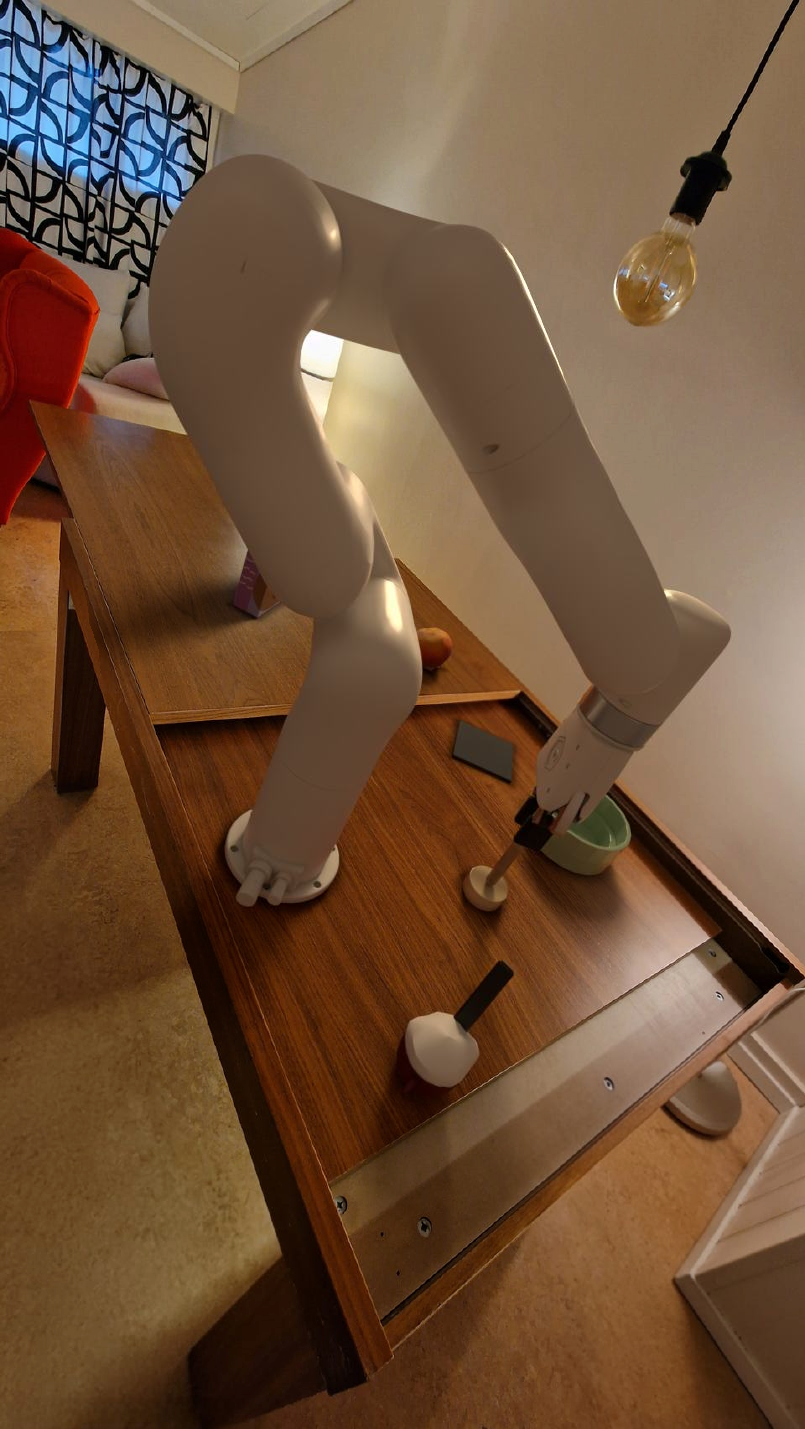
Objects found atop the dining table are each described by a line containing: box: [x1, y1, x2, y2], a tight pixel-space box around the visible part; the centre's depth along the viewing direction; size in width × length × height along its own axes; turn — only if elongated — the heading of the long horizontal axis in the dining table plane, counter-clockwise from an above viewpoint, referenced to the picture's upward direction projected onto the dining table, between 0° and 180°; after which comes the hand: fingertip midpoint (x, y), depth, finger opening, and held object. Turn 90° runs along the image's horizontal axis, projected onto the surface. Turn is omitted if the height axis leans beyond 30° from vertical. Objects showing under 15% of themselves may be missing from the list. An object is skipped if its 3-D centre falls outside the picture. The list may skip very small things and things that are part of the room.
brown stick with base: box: [462, 808, 552, 912], centre depth 72 cm, size 5×5×17 cm
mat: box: [452, 719, 514, 783], centre depth 100 cm, size 10×10×1 cm
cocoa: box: [396, 960, 515, 1099], centre depth 54 cm, size 10×6×12 cm, turn 118°
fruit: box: [416, 627, 453, 673], centre depth 114 cm, size 8×8×8 cm
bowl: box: [531, 794, 632, 876], centre depth 90 cm, size 14×14×6 cm
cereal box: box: [232, 550, 282, 619], centre depth 105 cm, size 17×5×24 cm, turn 161°
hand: (526, 834), depth 70 cm, fingers closed
